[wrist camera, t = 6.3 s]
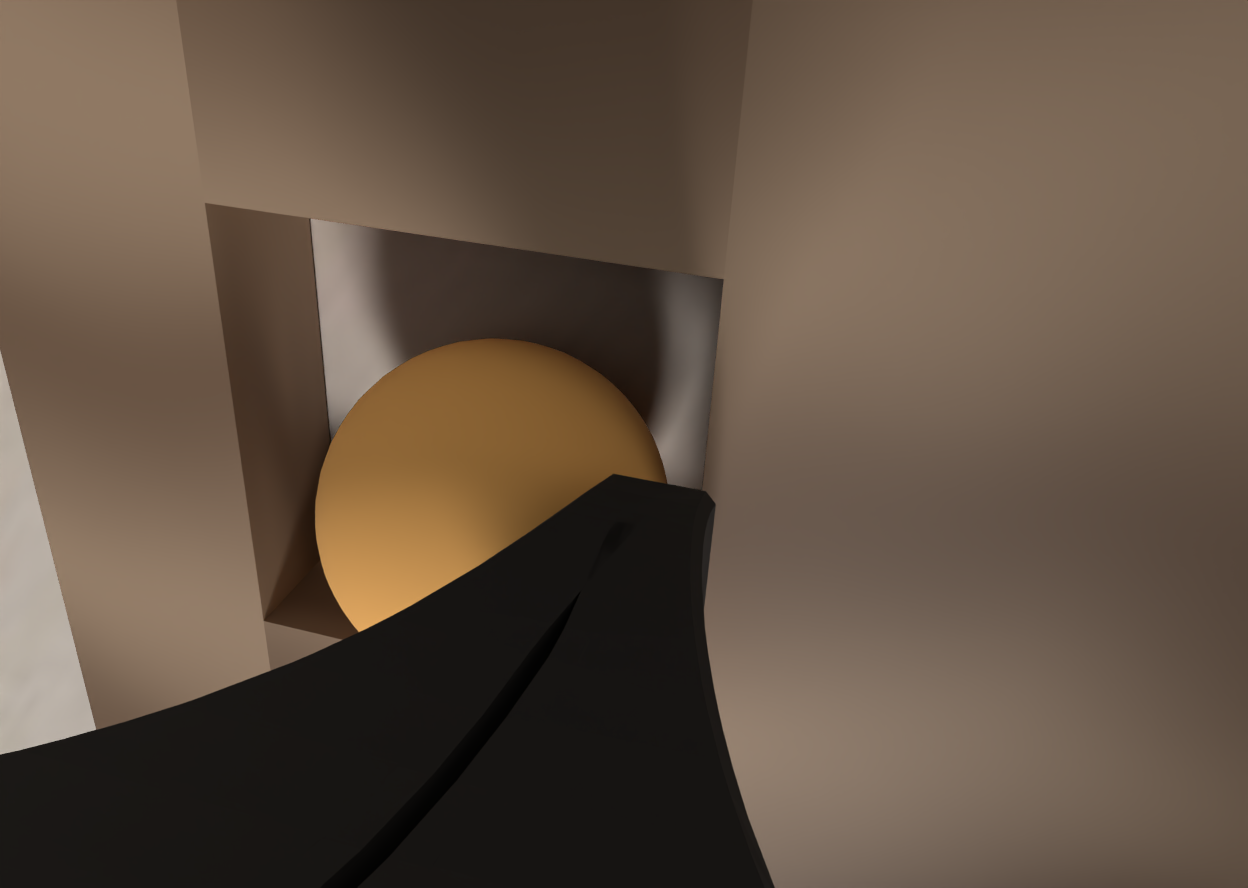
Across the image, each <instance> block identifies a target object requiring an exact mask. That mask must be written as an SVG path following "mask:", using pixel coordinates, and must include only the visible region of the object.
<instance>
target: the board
mask: <svg viewBox="0 0 1248 888" xmlns="http://www.w3.org/2000/svg"><path fill="white" fill-rule="evenodd" d="M309 218H311V219H318V220H325V221H331V222H338V223H345V224H352V225H358V226H365V227H372V228H379V229H386V230H392V231H399V232H406V233H413V234H419V235H426V236H433V237H440V238H447V239H453V240H460V241H467V242H474V243H480V244H487V245H494V246H501V247H508V248H514V249H521V250H528V251H535V252H541V253H548V254H555V255H562V256H569V257H575V258H582V259H589V260H596V261H602V262H609V263H616V264H623V265H630V266H636V267H643V268H650V269H657V270H663V271H670V272H677V273H684V274H691V275H697V276H704V277H711V278H718V279H724V282H723V292H722V301H721V311H720V320H719V330H718V340H717V349H716V359H715V369H714V378H713V388H712V398H711V407H710V417H709V427H708V436H707V446H706V455H705V465H704V475H703V484H702V491H706V492H707V493H708V494H709V496H710V497H711V498H712V500H713V501H714V502H715V503H716V507H715V516H714V525H713V534H712V543H711V552H710V561H709V570H708V579H707V588H706V596H705V605H704V619H705V631H706V639H707V647H708V655H709V661H710V667H711V673H712V679H713V685H714V690H715V695H716V700H717V705H718V710H719V714H720V719H721V723H722V728H723V732H724V736H725V739H726V743H727V747H728V751H729V755H730V758H731V762H732V766H733V770H734V773H735V776H736V779H737V783H738V786H739V789H740V792H741V796H742V799H743V802H744V806H745V809H746V812H747V815H748V818H749V821H750V823H751V826H752V829H753V831H754V834H755V837H756V839H757V842H758V845H759V847H760V850H761V852H762V855H763V858H764V860H765V863H766V866H767V868H768V871H769V873H770V876H771V879H772V881H773V884H774V887H775V888H1248V0H0V350H1V354H2V358H3V362H4V366H5V370H6V374H7V378H8V382H9V386H10V390H11V394H12V398H13V402H14V406H15V410H16V414H17V417H18V421H19V425H20V429H21V433H22V437H23V441H24V445H25V449H26V453H27V457H28V461H29V465H30V469H31V473H32V477H33V481H34V485H35V489H36V493H37V497H38V501H39V505H40V509H41V512H42V516H43V520H44V524H45V528H46V532H47V536H48V540H49V544H50V548H51V552H52V556H53V560H54V564H55V568H56V572H57V576H58V580H59V584H60V588H61V592H62V596H63V600H64V603H65V607H66V611H67V615H68V619H69V623H70V627H71V631H72V635H73V639H74V643H75V647H76V651H77V655H78V659H79V663H80V667H81V671H82V675H83V679H84V683H85V687H86V691H87V694H88V698H89V702H90V706H91V710H92V714H93V718H94V722H95V726H96V730H97V729H101V728H105V727H108V726H112V725H115V724H119V723H122V722H126V721H129V720H132V719H135V718H138V717H141V716H145V715H148V714H151V713H154V712H157V711H160V710H164V709H167V708H170V707H173V706H176V705H179V704H182V703H185V702H188V701H191V700H194V699H197V698H199V697H202V696H205V695H207V694H210V693H213V692H215V691H218V690H221V689H223V688H226V687H228V686H231V685H234V684H236V683H239V682H242V681H244V680H247V679H250V678H252V677H255V676H257V675H260V674H263V673H265V672H268V671H271V670H273V669H276V668H278V667H281V666H284V665H286V664H289V663H292V662H294V661H296V660H299V659H301V658H303V657H306V656H308V655H310V654H313V653H315V652H317V651H319V650H322V649H324V648H326V647H328V646H330V645H332V644H334V643H337V642H339V641H341V640H343V639H345V638H347V637H350V636H352V635H354V634H356V633H358V630H357V629H356V628H355V627H354V626H353V624H352V623H351V622H350V620H349V619H348V618H347V616H346V615H345V613H344V612H343V610H342V609H341V607H340V605H339V603H338V602H337V600H336V598H335V596H334V594H333V592H332V590H331V588H330V586H329V584H328V581H327V579H326V576H325V574H324V570H323V567H322V563H321V559H320V554H319V550H318V545H317V540H316V530H315V503H316V495H317V489H318V484H319V478H320V473H321V469H322V466H323V463H324V461H325V458H326V455H327V452H328V449H329V447H330V438H329V427H328V416H327V405H326V395H325V384H324V373H323V362H322V352H321V341H320V330H319V319H318V309H317V298H316V287H315V276H314V266H313V255H312V244H311V233H310V223H309Z"/></svg>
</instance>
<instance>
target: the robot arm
mask: <svg viewBox="0 0 1248 888" xmlns="http://www.w3.org/2000/svg"><path fill="white" fill-rule="evenodd" d="M715 507H716V503H715V502H714V501H713V500H712V498H711V497H710V496H709V494H708V493H707V492H706V491H702V490H697V489H691V488H686V487H681V486H676V485H670V484H665V483H660V482H655V481H649V480H644V479H639V478H634V477H628V476H623V475H618V474H612V475H611V476H609V477H608V478H606V479H605V480H603V481H602V482H600V483H599V484H597V485H596V486H594V487H593V488H591V489H590V490H588V491H587V492H585V493H584V494H582V495H581V496H580V497H578V498H577V499H575V500H574V501H572V502H571V503H570V504H568V505H567V506H565V507H564V508H563V509H561V510H560V511H558V512H557V513H556V514H554V515H553V516H551V517H550V518H548V519H547V520H546V521H544V522H543V523H541V524H540V525H538V526H537V527H536V528H534V529H533V530H531V531H530V532H528V533H527V534H525V535H524V536H522V537H521V538H519V539H518V540H516V541H515V542H513V543H512V544H510V545H509V546H507V547H506V548H504V549H503V550H501V551H500V552H498V553H497V554H495V555H494V556H492V557H491V558H489V559H488V560H486V561H485V562H483V563H482V564H480V565H479V566H477V567H475V568H474V569H472V570H470V571H469V572H467V573H465V574H464V575H462V576H460V577H458V578H457V579H455V580H453V581H452V582H450V583H448V584H447V585H445V586H443V587H441V588H440V589H438V590H436V591H435V592H433V593H431V594H430V595H428V596H426V597H425V598H423V599H421V600H419V601H418V602H416V603H414V604H413V605H411V606H409V607H407V608H405V609H403V610H402V611H400V612H398V613H396V614H394V615H392V616H390V617H388V618H386V619H384V620H382V621H380V622H378V623H376V624H375V625H373V626H371V627H369V628H367V629H365V630H363V631H360V632H358V633H356V634H354V635H352V636H350V637H347V638H345V639H343V640H341V641H339V642H337V643H334V644H332V645H330V646H328V647H326V648H324V649H322V650H319V651H317V652H315V653H313V654H310V655H308V656H306V657H303V658H301V659H299V660H296V661H294V662H292V663H289V664H286V665H284V666H281V667H278V668H276V669H273V670H271V671H268V672H265V673H263V674H260V675H257V676H255V677H252V678H250V679H247V680H244V681H242V682H239V683H236V684H234V685H231V686H228V687H226V688H223V689H221V690H218V691H215V692H213V693H210V694H207V695H205V696H202V697H199V698H197V699H194V700H191V701H188V702H185V703H182V704H179V705H176V706H173V707H170V708H167V709H164V710H160V711H157V712H154V713H151V714H148V715H145V716H141V717H138V718H135V719H132V720H129V721H126V722H122V723H119V724H115V725H112V726H108V727H105V728H101V729H97V730H94V731H90V732H87V733H83V734H80V735H76V736H73V737H69V738H66V739H62V740H58V741H54V742H51V743H47V744H43V745H39V746H35V747H31V748H27V749H23V750H19V751H15V752H10V753H6V754H1V755H0V888H775V887H774V884H773V881H772V879H771V876H770V873H769V871H768V868H767V866H766V863H765V860H764V858H763V855H762V852H761V850H760V847H759V845H758V842H757V839H756V837H755V834H754V831H753V829H752V826H751V823H750V821H749V818H748V815H747V812H746V809H745V806H744V802H743V799H742V796H741V792H740V789H739V786H738V783H737V779H736V776H735V773H734V770H733V766H732V762H731V758H730V755H729V751H728V747H727V743H726V739H725V736H724V732H723V728H722V723H721V719H720V714H719V710H718V705H717V700H716V695H715V690H714V685H713V679H712V673H711V667H710V661H709V655H708V647H707V639H706V631H705V619H704V605H705V596H706V588H707V579H708V570H709V561H710V552H711V543H712V534H713V525H714V516H715Z"/></svg>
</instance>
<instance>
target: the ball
mask: <svg viewBox="0 0 1248 888" xmlns="http://www.w3.org/2000/svg"><path fill="white" fill-rule="evenodd" d="M612 474H618V475H623V476H628V477H634V478H639V479H644V480H649V481H655V482H660V483H665V484H667V479H666V475H665V470H664V467H663V463H662V460H661V457H660V454H659V451H658V448H657V446H656V444H655V441H654V439H653V437H652V435H651V433H650V431H649V429H648V428H647V426H646V424H645V422H644V421H643V419H642V418H641V416H640V415H639V413H638V412H637V410H636V409H635V408H634V406H633V405H632V404H631V403H630V402H629V400H628V399H627V398H626V397H625V396H624V394H623V393H622V392H621V391H620V390H619V389H617V388H616V387H615V386H614V385H613V384H612V383H611V382H610V381H609V380H608V379H606V378H605V377H604V376H603V375H601V374H600V373H599V372H597V371H596V370H594V369H593V368H591V367H589V366H588V365H586V364H585V363H583V362H581V361H580V360H578V359H576V358H574V357H572V356H570V355H568V354H566V353H564V352H561V351H558V350H556V349H553V348H550V347H547V346H543V345H540V344H536V343H532V342H527V341H522V340H511V339H496V338H488V339H478V340H469V341H460V342H456V343H452V344H449V345H445V346H441V347H438V348H435V349H432V350H429V351H427V352H425V353H422V354H420V355H418V356H416V357H414V358H411V359H410V360H408V361H406V362H405V363H403V364H401V365H400V366H398V367H397V368H395V369H394V370H392V371H391V372H389V373H388V374H386V375H385V376H383V377H382V378H381V379H380V380H379V381H378V382H377V383H376V384H375V385H374V386H372V387H371V388H370V389H369V390H368V391H367V392H366V393H365V394H364V395H363V396H362V397H361V398H360V399H359V400H358V402H357V403H356V404H355V405H354V407H353V408H352V409H351V411H350V412H349V413H348V414H347V416H346V417H345V419H344V421H343V422H342V424H341V425H340V427H339V429H338V431H337V433H336V434H335V436H334V438H333V440H332V442H331V444H330V447H329V449H328V452H327V455H326V458H325V461H324V463H323V466H322V469H321V473H320V478H319V484H318V489H317V495H316V503H315V530H316V540H317V545H318V550H319V554H320V559H321V563H322V567H323V570H324V574H325V576H326V579H327V581H328V584H329V586H330V588H331V590H332V592H333V594H334V596H335V598H336V600H337V602H338V603H339V605H340V607H341V609H342V610H343V612H344V613H345V615H346V616H347V618H348V619H349V620H350V622H351V623H352V624H353V626H354V627H355V628H356V629H357V630H358V632H360V631H363V630H365V629H367V628H369V627H371V626H373V625H375V624H376V623H378V622H380V621H382V620H384V619H386V618H388V617H390V616H392V615H394V614H396V613H398V612H400V611H402V610H403V609H405V608H407V607H409V606H411V605H413V604H414V603H416V602H418V601H419V600H421V599H423V598H425V597H426V596H428V595H430V594H431V593H433V592H435V591H436V590H438V589H440V588H441V587H443V586H445V585H447V584H448V583H450V582H452V581H453V580H455V579H457V578H458V577H460V576H462V575H464V574H465V573H467V572H469V571H470V570H472V569H474V568H475V567H477V566H479V565H480V564H482V563H483V562H485V561H486V560H488V559H489V558H491V557H492V556H494V555H495V554H497V553H498V552H500V551H501V550H503V549H504V548H506V547H507V546H509V545H510V544H512V543H513V542H515V541H516V540H518V539H519V538H521V537H522V536H524V535H525V534H527V533H528V532H530V531H531V530H533V529H534V528H536V527H537V526H538V525H540V524H541V523H543V522H544V521H546V520H547V519H548V518H550V517H551V516H553V515H554V514H556V513H557V512H558V511H560V510H561V509H563V508H564V507H565V506H567V505H568V504H570V503H571V502H572V501H574V500H575V499H577V498H578V497H580V496H581V495H582V494H584V493H585V492H587V491H588V490H590V489H591V488H593V487H594V486H596V485H597V484H599V483H600V482H602V481H603V480H605V479H606V478H608V477H609V476H611V475H612Z"/></svg>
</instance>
